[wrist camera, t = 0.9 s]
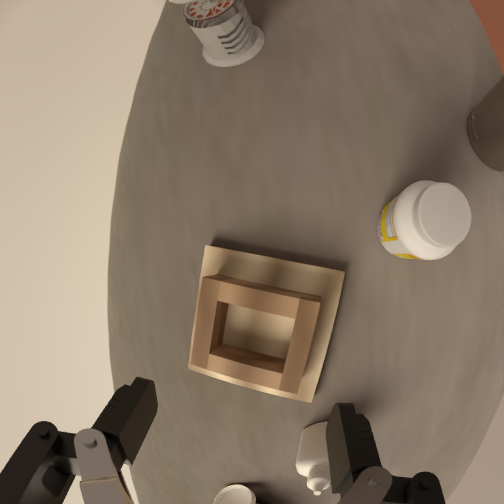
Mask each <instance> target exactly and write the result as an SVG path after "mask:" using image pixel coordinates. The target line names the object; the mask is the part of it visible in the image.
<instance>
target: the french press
mask: <svg viewBox="0 0 504 504" xmlns="http://www.w3.org/2000/svg"><path fill="white" fill-rule="evenodd" d="M168 1H169V2H172V3H176V4H187V3H188V4H187V5H186V7H185V8H184V16H185V17H186V22H187V23H188V24H189V26H190V27H191V29H192V30H193V31H194V33H195V34H196V35H197V37H198V38H199V40H200V41H201V42H202V44H203V45H204V46H203V56H204V58H205V59H206V61H207V62H208V63H210V64H212V65H214V66H220V67H230V66H234V65H238V64H242V63H244V62H245V61H247V60H249V59H251V58H253V57H254V56H255V55H256V54H257V53H258V52H259V51H260V50H261V49H262V46H263V44H264V42H265V38H264V32H263V31H262V30H261V29H260V28H259V27H258V26H255V25H253V24H252V21H251V19H250V17H249V15H248V12H247V10H246V8H245V6H244V1H245V0H243V1H242V0H168ZM234 3H236V5H237V7H238V9H239V12H238V13H237V14H236V12H235V10H234V8H233V5H234ZM219 15H220V16H219ZM217 16H219V17H217ZM211 18H212V19H211ZM241 18H243V22H242V23H241V22H240V20H241ZM208 19H210V20H208ZM220 19H223V21H221V22H217V23H215V24H213V25H210V27H208V28H206V27H207V25H208V24H209V23H211V22H213V21H215V20H220ZM193 20H194V21H195V27H193ZM204 20H208V21H207V22H206V23H205V24H204V25H203V28H201V24H202V23H203V22H204ZM197 21H200V22H199V26H198V28H197Z"/></svg>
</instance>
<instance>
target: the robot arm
mask: <svg viewBox="0 0 504 504" xmlns="http://www.w3.org/2000/svg"><path fill="white" fill-rule="evenodd" d="M467 131H468V136H469V139H470V142H471V144H472V146H473V148H474V150H475V151H476V153H477V155H478V156H479V157H480V158H481V159H482V161H483V162H485V163H486V164H487V165H488V166H490V167H491V168H493V169H495V170H498V171H504V76H503V77H502V79H501V80H500V81H499V82H498V83H497V84H496V85H495V87H494V88H493V89H492V90H491V91H490V92H489V93H488V94H487V95H486V97H485V98H484V99H483V100H482V101H481V102H480V103H479V104H478V105H477V106H476V107H475V108H474V110H473V111H472V112H471V113H470V115H469V116H468V120H467ZM157 408H158V402H157V396H156V390H155V384H154V381H153V380H148V379H144V378H141V377H136V378H135V380H134V381H133V383H132V384H131V386H129V385H126V384H125V385H124V386H122V387H121V388H119V389H118V390H116V392H115V393H114V395H113V397H112V399H111V400H110V401H109V402H108V405H107V406H106V407H105V408H104V410H103V411H102V413H101V414H100V416H99V417H98V419H97V420H96V422H95V423H94V425H93V426H92V427H91V428H90V429H83V430H81V431H79V432H78V433H77V434H73V433H67V432H61V431H58V430H57V428H56V426H55V425H54V424H52V423H50V422H47V421H41V422H38V423H36V424H34V425H33V426H32V428H31V429H30V431H29V432H28V433H27V435H26V436H25V438H24V439H23V440H22V442H21V444H20V445H19V446H18V448H17V449H16V451H15V452H14V454H13V455H12V457H11V458H10V460H9V461H8V463H7V464H6V466H5V467H4V469H3V470H2V472H1V473H0V504H62V503H63V501H64V499H65V497H66V495H67V493H68V491H69V488H70V486H71V485H72V483H73V480H74V478H75V476H76V475H79V476H81V478H82V481H80V489H81V493H82V496H83V500H84V503H85V504H134V502H133V500H132V498H131V495H130V493H129V490H128V488H127V485H126V483H125V480H124V477H123V475H122V472H121V468H122V466H123V464H127V465H130V466H132V464H133V462H134V460H135V458H136V456H137V453H138V451H139V449H140V447H141V445H142V443H143V441H144V439H145V437H146V434H147V432H148V430H149V428H150V426H151V424H152V422H153V420H154V418H155V416H156V413H157ZM326 443H327V451H328V459H329V468H330V477H331V486H332V494H333V493H340V495H341V499H340V501H339V502H338V503H337V504H445V500H444V496H443V493H442V489H441V486H440V482H439V480H438V478H437V477H436V475H434V474H433V473H430V472H420V473H417V474H416V475H415V476H414V477H413V478H406V477H397V476H393V475H391V474H390V472H389V471H388V470H386V469H385V468H383V467H382V465H381V462H380V458H379V454H378V451H377V447H376V443H375V440H374V436H373V433H372V429H371V426H370V423H369V421H368V420H367V418H366V417H365V416H364V415H363V414H356V412H355V408H354V405H353V403H336V404H335V405H334V407H333V410H332V413H331V415H330V418H329V420H328V423H327V426H326Z"/></svg>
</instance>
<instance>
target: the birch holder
mask: <svg viewBox="0 0 504 504" xmlns="http://www.w3.org/2000/svg"><path fill="white" fill-rule="evenodd" d="M344 275H345V272H344V271H340V270H335V269H330V268H325V267H319V266H314V265H309V264H304V263H299V262H293V261H288V260H283V259H278V258H273V257H268V256H262V255H257V254H252V253H247V252H242V251H236V250H231V249H226V248H221V247H216V246H211V245H206V246H205V251H204V258H203V264H202V270H201V276H200V283H199V289H198V296H197V303H196V310H195V317H194V325H193V332H192V340H191V348H190V356H189V365H188V369H191V370H193V371H196V372H199V373H202V374H205V375H208V376H211V377H214V378H217V379H221V380H224V381H227V382H230V383H234V384H237V385H240V386H244V387H247V388H251V389H255V390H258V391H262V392H266V393H270V394H274V395H278V396H282V397H287V398H291V399H296V400H300V401H305V402H310V403H311V402H312V399H313V396H314V392H315V389H316V386H317V383H318V379H319V376H320V373H321V369H322V366H323V362H324V359H325V355H326V351H327V348H328V344H329V340H330V336H331V332H332V328H333V324H334V320H335V316H336V312H337V307H338V303H339V299H340V294H341V289H342V285H343V280H344Z"/></svg>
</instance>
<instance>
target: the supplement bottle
mask: <svg viewBox="0 0 504 504" xmlns="http://www.w3.org/2000/svg"><path fill="white" fill-rule="evenodd" d="M470 225H471V210H470V206H469V203H468V201H467V199H466V197H465V196H464V194H463V193H462V192H461V191H460V190H459V189H458V188H457V187H455V186H453V185H452V184H449V183H444V182H439V183H438V182H435V181H429V180H424V181H418V182H415V183H413V184H411V185H410V186H408V187H407V188H405V189H404V190H403V191H402V192H401V193H400V194H398V195H397V196H396V197H395V198H394V199H393V200H391V201H390V202H389V203H388V204H387V205H386V206H385V207H384V208H383V210H382V211H381V213H380V215H379V218H378V223H377V231H378V236H379V239H380V241H381V243H382V245H383V246H384V248H385V249H386V250H387V251H388V252H389V253H391V254H392V255H394V256H397V257H400V258H409V259H424V260H435V259H440V258H442V257H444V256H446V255H448V254H449V253H450V252H452V251H453V249H454V248H455V247H456V246H457V244H459V243H460V242H462V241H463V240H464V238H465V237H466V235H467V234H468V232H469V229H470Z"/></svg>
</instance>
